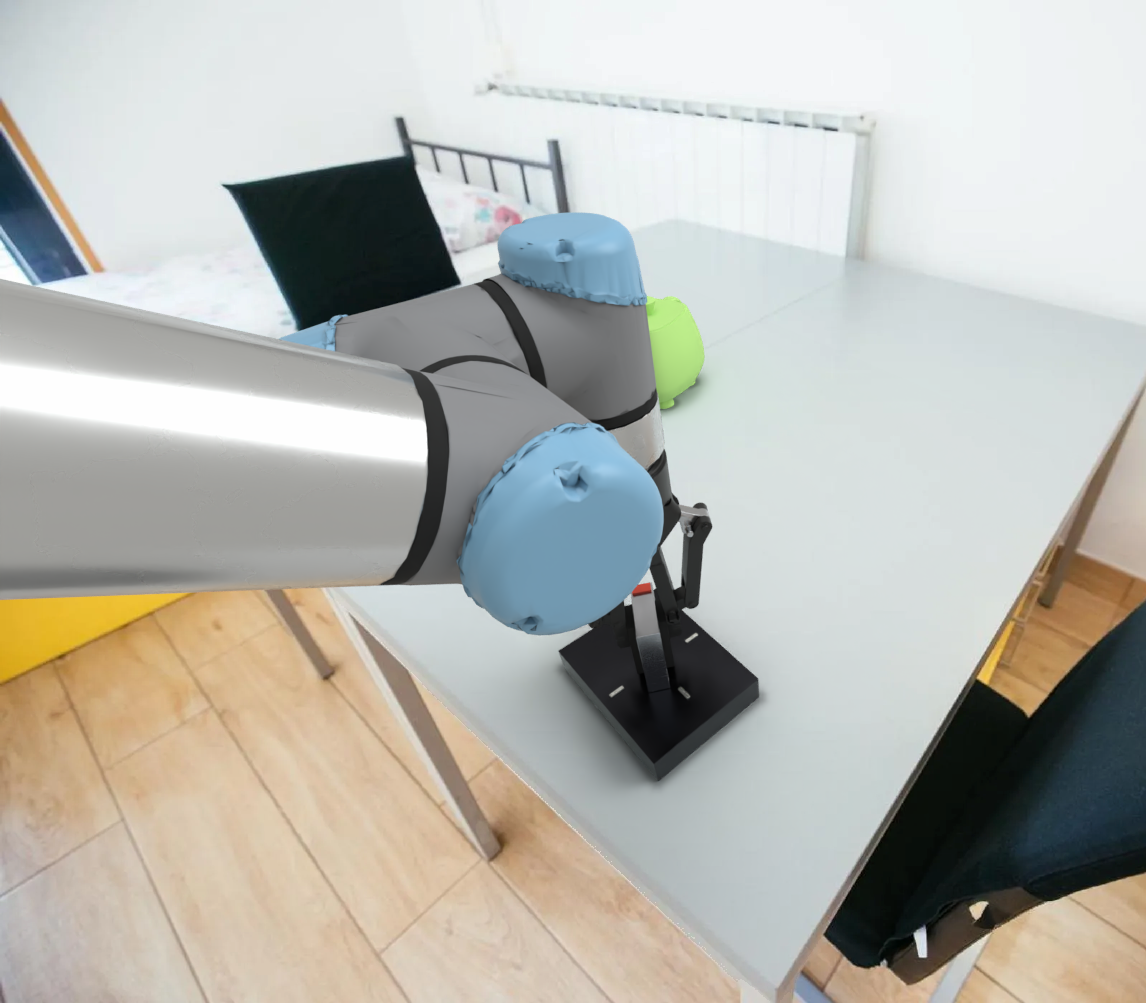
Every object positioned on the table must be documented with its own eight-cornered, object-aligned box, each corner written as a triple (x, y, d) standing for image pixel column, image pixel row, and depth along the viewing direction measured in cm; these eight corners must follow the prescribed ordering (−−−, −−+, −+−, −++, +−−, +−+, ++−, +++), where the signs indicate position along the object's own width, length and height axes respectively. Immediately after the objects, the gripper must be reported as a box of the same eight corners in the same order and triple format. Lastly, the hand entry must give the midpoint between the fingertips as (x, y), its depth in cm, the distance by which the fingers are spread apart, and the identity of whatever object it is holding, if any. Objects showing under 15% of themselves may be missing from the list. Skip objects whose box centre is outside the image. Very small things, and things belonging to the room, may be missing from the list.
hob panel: (658, 781, 53) (653, 763, 51) (564, 669, 63) (557, 649, 61) (759, 697, 60) (758, 677, 58) (660, 605, 69) (656, 586, 67)
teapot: (622, 350, 118) (607, 266, 108) (724, 368, 112) (719, 280, 102) (540, 415, 101) (514, 322, 91) (655, 441, 94) (641, 344, 84)
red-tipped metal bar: (670, 688, 57) (659, 631, 52) (648, 692, 57) (635, 636, 51) (662, 637, 62) (651, 580, 56) (642, 641, 61) (629, 584, 56)
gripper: (707, 412, 48) (724, 612, 63) (504, 442, 45) (572, 644, 60) (728, 467, 42) (741, 673, 57) (497, 506, 39) (574, 711, 54)
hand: (654, 658), depth 59 cm, fingers closed on red-tipped metal bar, 2 cm apart
